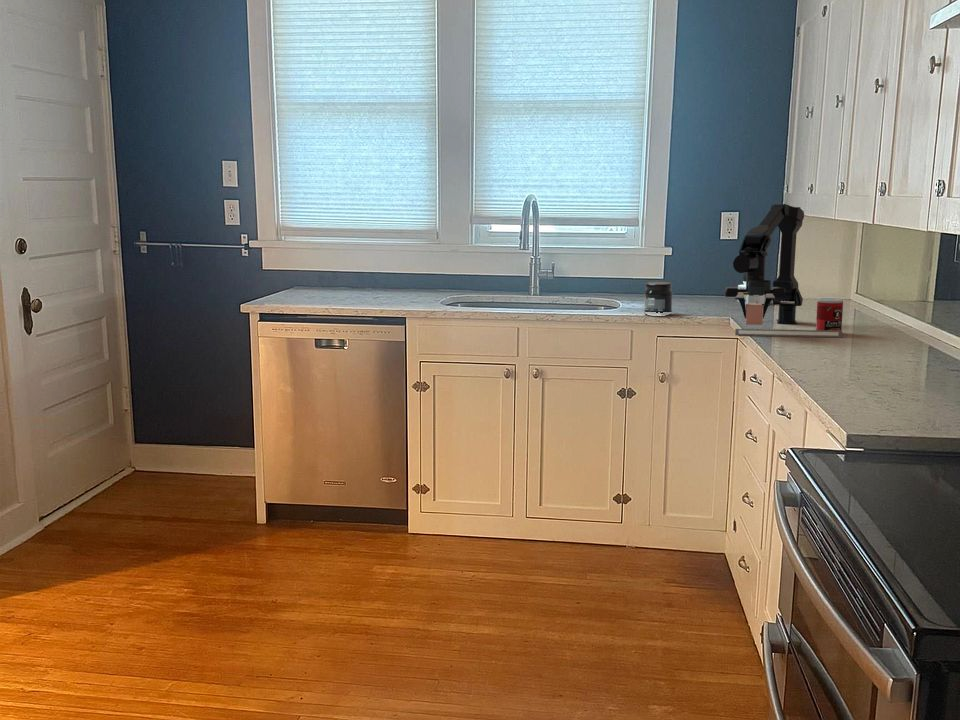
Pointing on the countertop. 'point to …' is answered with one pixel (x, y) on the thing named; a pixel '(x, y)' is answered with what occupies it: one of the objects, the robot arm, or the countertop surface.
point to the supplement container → (658, 297)
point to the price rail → (788, 333)
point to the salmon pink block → (754, 314)
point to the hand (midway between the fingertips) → (754, 318)
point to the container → (747, 297)
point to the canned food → (829, 314)
